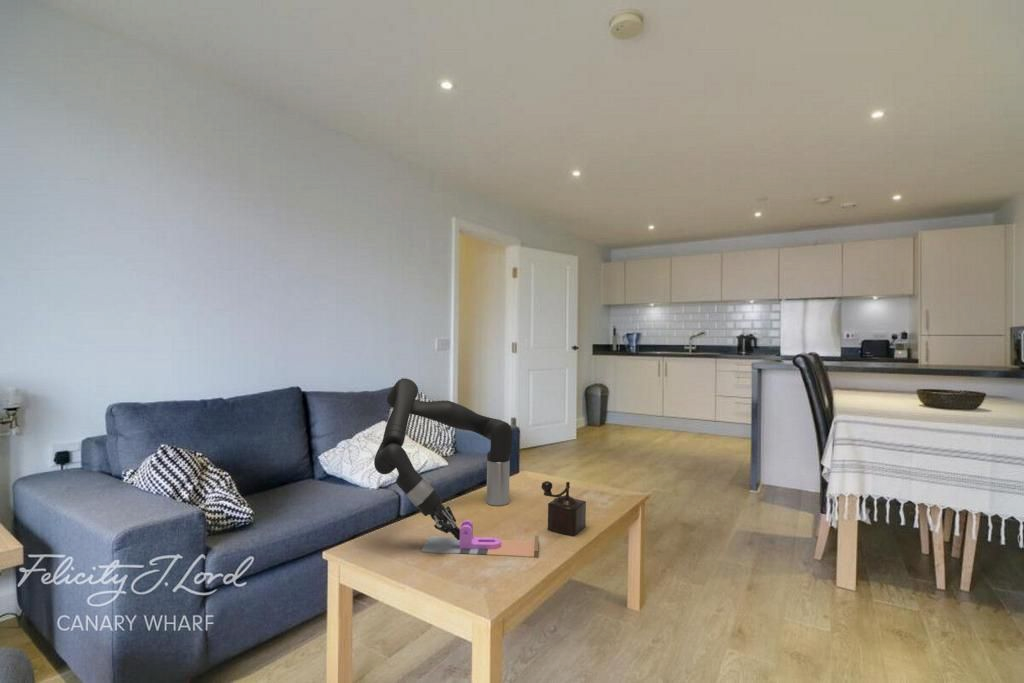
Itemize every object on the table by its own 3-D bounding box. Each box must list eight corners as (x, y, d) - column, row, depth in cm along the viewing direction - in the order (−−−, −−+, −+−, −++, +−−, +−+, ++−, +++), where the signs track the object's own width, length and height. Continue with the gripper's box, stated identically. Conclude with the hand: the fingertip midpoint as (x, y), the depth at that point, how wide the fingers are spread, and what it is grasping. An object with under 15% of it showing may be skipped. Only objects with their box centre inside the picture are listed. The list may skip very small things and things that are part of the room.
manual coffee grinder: (558, 520, 175) (559, 471, 175) (586, 527, 169) (587, 476, 169) (538, 534, 162) (538, 481, 162) (567, 542, 156) (568, 487, 156)
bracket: (459, 548, 149) (459, 526, 149) (461, 541, 155) (461, 519, 155) (500, 549, 149) (501, 526, 149) (501, 541, 155) (501, 520, 155)
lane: (429, 537, 158) (429, 531, 158) (538, 542, 156) (538, 536, 156) (421, 551, 147) (421, 545, 147) (537, 557, 145) (538, 550, 145)
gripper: (421, 497, 158) (456, 536, 158) (409, 512, 145) (448, 555, 144) (437, 482, 157) (473, 521, 157) (427, 496, 144) (466, 539, 144)
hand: (461, 537), depth 151 cm, fingers closed
